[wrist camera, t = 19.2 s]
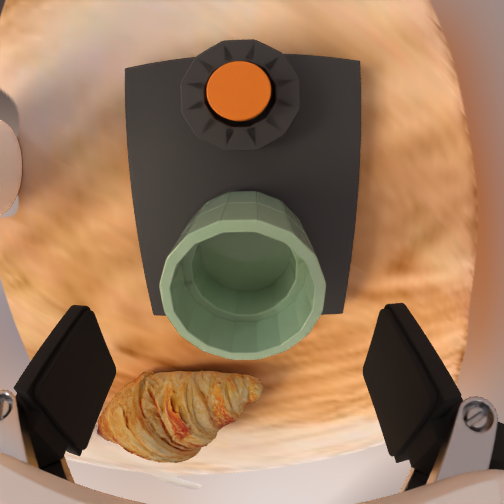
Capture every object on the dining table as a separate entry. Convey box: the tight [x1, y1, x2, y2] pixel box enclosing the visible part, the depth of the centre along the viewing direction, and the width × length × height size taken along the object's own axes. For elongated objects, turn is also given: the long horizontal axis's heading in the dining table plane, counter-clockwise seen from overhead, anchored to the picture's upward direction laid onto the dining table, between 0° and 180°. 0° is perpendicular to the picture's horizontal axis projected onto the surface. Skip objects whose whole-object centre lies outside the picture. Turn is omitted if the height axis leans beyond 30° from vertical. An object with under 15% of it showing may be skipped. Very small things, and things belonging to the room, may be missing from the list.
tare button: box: [207, 61, 271, 121], centre depth 12 cm, size 3×3×2 cm
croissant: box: [97, 370, 263, 463], centre depth 23 cm, size 21×10×8 cm, turn 123°
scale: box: [125, 40, 361, 316], centre depth 16 cm, size 16×13×3 cm
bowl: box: [159, 191, 326, 360], centre depth 15 cm, size 7×7×6 cm
